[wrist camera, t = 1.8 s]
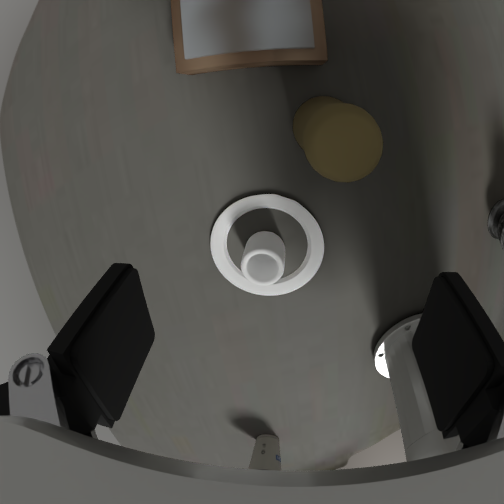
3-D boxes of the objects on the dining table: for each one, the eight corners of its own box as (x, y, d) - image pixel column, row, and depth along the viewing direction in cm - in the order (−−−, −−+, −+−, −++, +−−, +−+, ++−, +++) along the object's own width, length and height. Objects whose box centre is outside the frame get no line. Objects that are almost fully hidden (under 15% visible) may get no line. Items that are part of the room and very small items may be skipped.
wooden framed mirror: (309, -43, 17) (312, -63, 13) (321, 65, 23) (328, 59, 19) (182, -30, 19) (166, -46, 15) (190, 75, 25) (174, 72, 21)
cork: (326, 82, 24) (350, 75, 14) (369, 131, 26) (414, 154, 16) (278, 125, 26) (274, 143, 17) (323, 171, 28) (342, 214, 19)
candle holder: (285, 170, 29) (284, 182, 25) (342, 263, 33) (347, 285, 29) (190, 228, 33) (177, 247, 29) (252, 306, 37) (247, 330, 33)
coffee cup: (247, 442, 55) (241, 483, 47) (255, 429, 52) (249, 474, 43) (278, 447, 56) (275, 487, 47) (289, 435, 52) (287, 478, 44)
